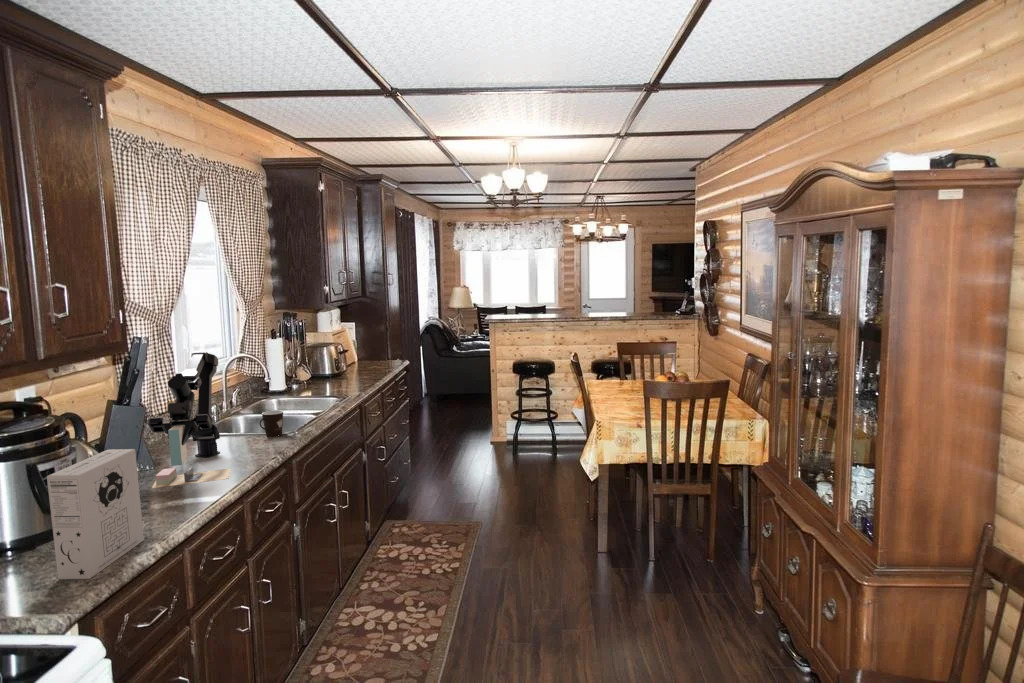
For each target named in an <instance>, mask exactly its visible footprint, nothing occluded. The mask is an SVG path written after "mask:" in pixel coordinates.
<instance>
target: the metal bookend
mask: <svg viewBox="0 0 1024 683" xmlns="http://www.w3.org/2000/svg"><path fill="white" fill-rule="evenodd" d="M193 473H194V467H193V466H190V467H189V468H188V469H186V471H185V472H184V473H183V474H184V479H185V482H193V481H198V480H199V478H200V477H201V476H202V475H203V474H193Z"/></svg>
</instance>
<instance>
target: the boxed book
mask: <svg viewBox="0 0 1024 683" xmlns="http://www.w3.org/2000/svg"><path fill="white" fill-rule="evenodd" d="M184 430H185V426H184V425H179V426H173V427H172V428H171V429H169V430H168V434H169V438H168V444H169V453H170V455H169V456H170V464H171V467H175V466H182V465H184V464H185V463H186V462H187V460H188V454H187V453H188V451H187V442H186V443H185V444H184V445H182V437H183V433H184ZM168 434H167V435H168Z"/></svg>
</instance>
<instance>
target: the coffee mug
mask: <svg viewBox="0 0 1024 683" xmlns="http://www.w3.org/2000/svg"><path fill="white" fill-rule="evenodd" d="M261 416H262V418H261V419H260V420H259V426H260V428H261V429H263V430H264V431H265V436H267V438H275V437H274V436H278V435H281V434H282V435H283V425H284V424H283V420H284V411H283V410H279V409H277V410H276V409H275V410H274V409H273V410H267V411H263V412H262V413H261ZM262 422H263V425H262ZM263 426H264V427H263ZM282 435H281V436H282ZM278 437H279V436H278Z"/></svg>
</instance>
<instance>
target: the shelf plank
mask: <svg viewBox="0 0 1024 683" xmlns="http://www.w3.org/2000/svg"><path fill="white" fill-rule="evenodd" d="M231 470H232V469H231V468H224V469H216V470H215V469H214V470H207V471H199V472H193V474H203V475H202V476H201V477H200V478H199V480H198V481H193V482H185V479H184V473H183V474H177V477H176V478H175V479H174V480H173V481H172V482H171V483H170V484H161V485H156V480H155V481H154V483H153V485H152V486H151V489H156V488H165V487H172V486H181V485H182V486H183V485H189V484H197V483H205V482H213V481H214V482H215V481H222V480H229V478H230V475H231V474H230V473H231Z"/></svg>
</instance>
